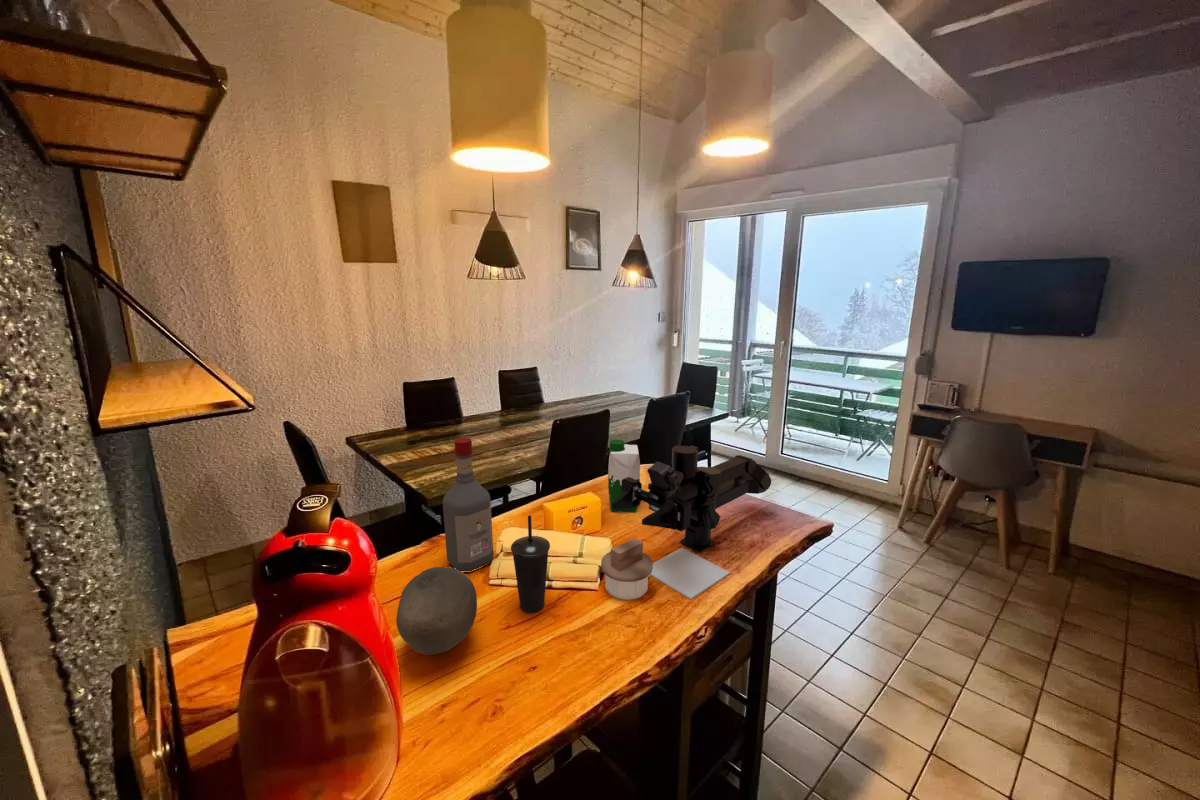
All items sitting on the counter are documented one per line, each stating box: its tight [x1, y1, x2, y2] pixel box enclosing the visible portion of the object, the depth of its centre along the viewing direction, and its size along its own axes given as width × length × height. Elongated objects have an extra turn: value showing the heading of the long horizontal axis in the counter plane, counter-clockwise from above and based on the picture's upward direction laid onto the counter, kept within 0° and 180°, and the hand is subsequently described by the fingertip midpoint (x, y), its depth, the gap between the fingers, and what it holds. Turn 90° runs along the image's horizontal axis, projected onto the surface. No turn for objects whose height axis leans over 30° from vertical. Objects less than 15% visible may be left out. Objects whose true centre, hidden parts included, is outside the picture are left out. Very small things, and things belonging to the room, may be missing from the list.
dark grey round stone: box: [395, 566, 478, 656], centre depth 87 cm, size 14×14×15 cm
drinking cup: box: [510, 515, 551, 614], centre depth 98 cm, size 8×8×20 cm
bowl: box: [604, 574, 649, 601], centre depth 106 cm, size 9×9×5 cm
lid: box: [600, 537, 654, 582], centre depth 105 cm, size 11×11×5 cm
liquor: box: [442, 437, 494, 571], centre depth 112 cm, size 9×9×30 cm
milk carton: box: [607, 439, 641, 513], centre depth 141 cm, size 9×9×20 cm
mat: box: [649, 547, 731, 600], centre depth 112 cm, size 14×14×1 cm
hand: (626, 514), depth 104 cm, fingers open, 9 cm apart
